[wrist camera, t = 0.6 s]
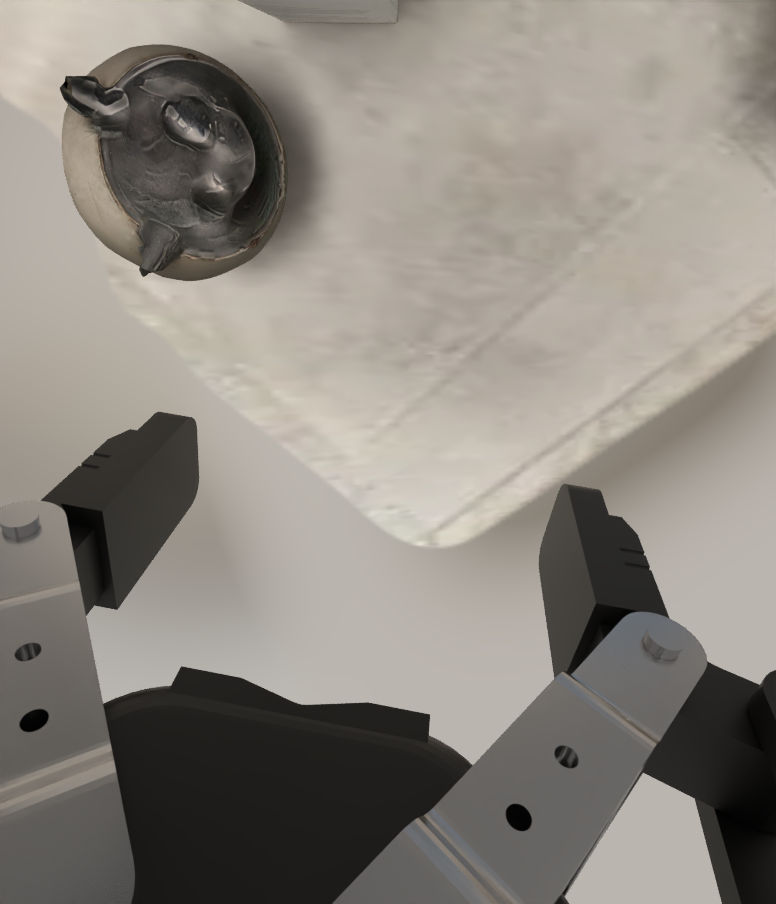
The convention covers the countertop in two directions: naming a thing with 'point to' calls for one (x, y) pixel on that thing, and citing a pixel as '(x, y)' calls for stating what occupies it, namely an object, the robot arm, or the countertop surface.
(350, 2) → the skincare box
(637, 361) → the countertop surface
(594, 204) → the countertop surface
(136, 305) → the countertop surface
